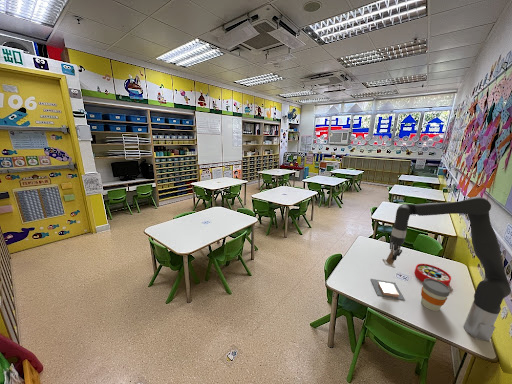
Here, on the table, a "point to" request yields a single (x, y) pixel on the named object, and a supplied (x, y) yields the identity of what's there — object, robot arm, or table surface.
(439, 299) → the reusable coffee cup
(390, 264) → the scraper
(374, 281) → the mat
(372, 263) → the table surface
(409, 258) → the table surface
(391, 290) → the tile
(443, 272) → the toy clock
